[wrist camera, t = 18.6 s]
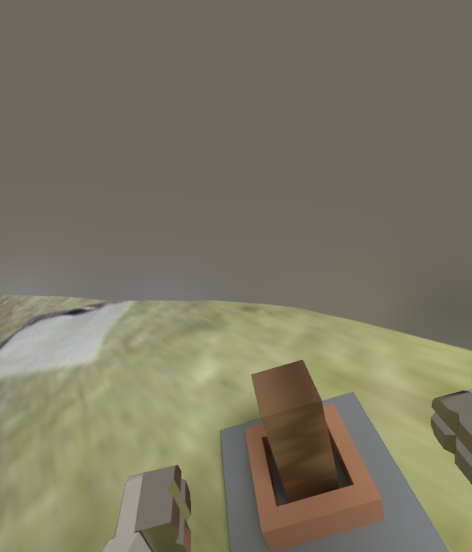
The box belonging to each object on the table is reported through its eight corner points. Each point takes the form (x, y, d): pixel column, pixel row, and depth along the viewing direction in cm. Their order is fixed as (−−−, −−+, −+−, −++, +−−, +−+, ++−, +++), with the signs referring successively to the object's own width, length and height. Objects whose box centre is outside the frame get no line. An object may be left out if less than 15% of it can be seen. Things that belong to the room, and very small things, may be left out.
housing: (239, 625, 24) (224, 600, 22) (222, 436, 38) (212, 412, 36) (452, 564, 23) (453, 535, 22) (354, 398, 38) (350, 372, 36)
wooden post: (291, 511, 28) (260, 417, 23) (279, 463, 32) (251, 374, 27) (341, 497, 28) (321, 400, 23) (323, 451, 32) (302, 359, 27)
